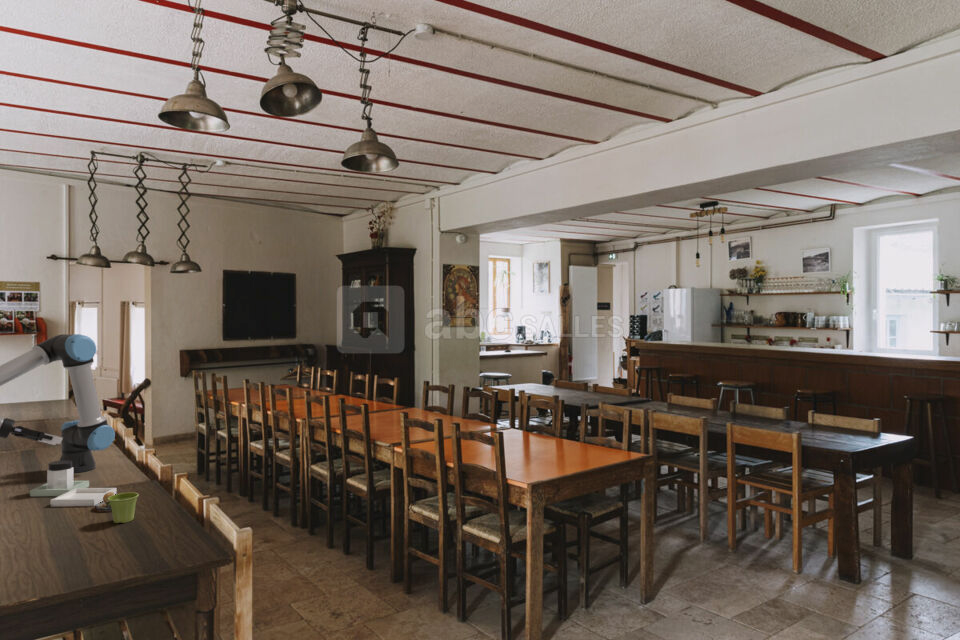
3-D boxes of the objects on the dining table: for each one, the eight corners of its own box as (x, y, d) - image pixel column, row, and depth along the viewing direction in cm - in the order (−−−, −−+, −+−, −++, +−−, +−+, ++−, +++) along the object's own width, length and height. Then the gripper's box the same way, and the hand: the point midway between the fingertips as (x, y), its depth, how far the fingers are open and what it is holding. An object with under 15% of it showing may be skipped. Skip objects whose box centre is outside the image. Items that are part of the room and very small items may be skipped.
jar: (46, 495, 249) (46, 465, 249) (47, 490, 256) (47, 461, 256) (73, 492, 254) (73, 462, 254) (73, 487, 261) (73, 458, 261)
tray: (75, 494, 251) (75, 488, 251) (116, 493, 252) (116, 487, 252) (50, 506, 235) (50, 499, 235) (94, 505, 236) (94, 499, 236)
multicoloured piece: (123, 512, 229) (123, 492, 229) (88, 513, 227) (88, 493, 227) (135, 502, 241) (135, 483, 241) (102, 504, 239) (102, 484, 239)
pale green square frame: (52, 486, 262) (52, 480, 262) (89, 486, 263) (89, 480, 263) (30, 496, 248) (30, 490, 248) (68, 495, 249) (68, 489, 249)
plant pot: (117, 527, 212) (117, 501, 212) (102, 522, 217) (102, 497, 217) (144, 519, 220) (144, 495, 220) (129, 514, 225) (129, 491, 225)
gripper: (-7, 437, 255) (51, 451, 267) (-3, 434, 236) (59, 449, 248) (2, 419, 258) (58, 434, 269) (6, 415, 239) (67, 431, 251)
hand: (59, 441), depth 259 cm, fingers open, 13 cm apart
